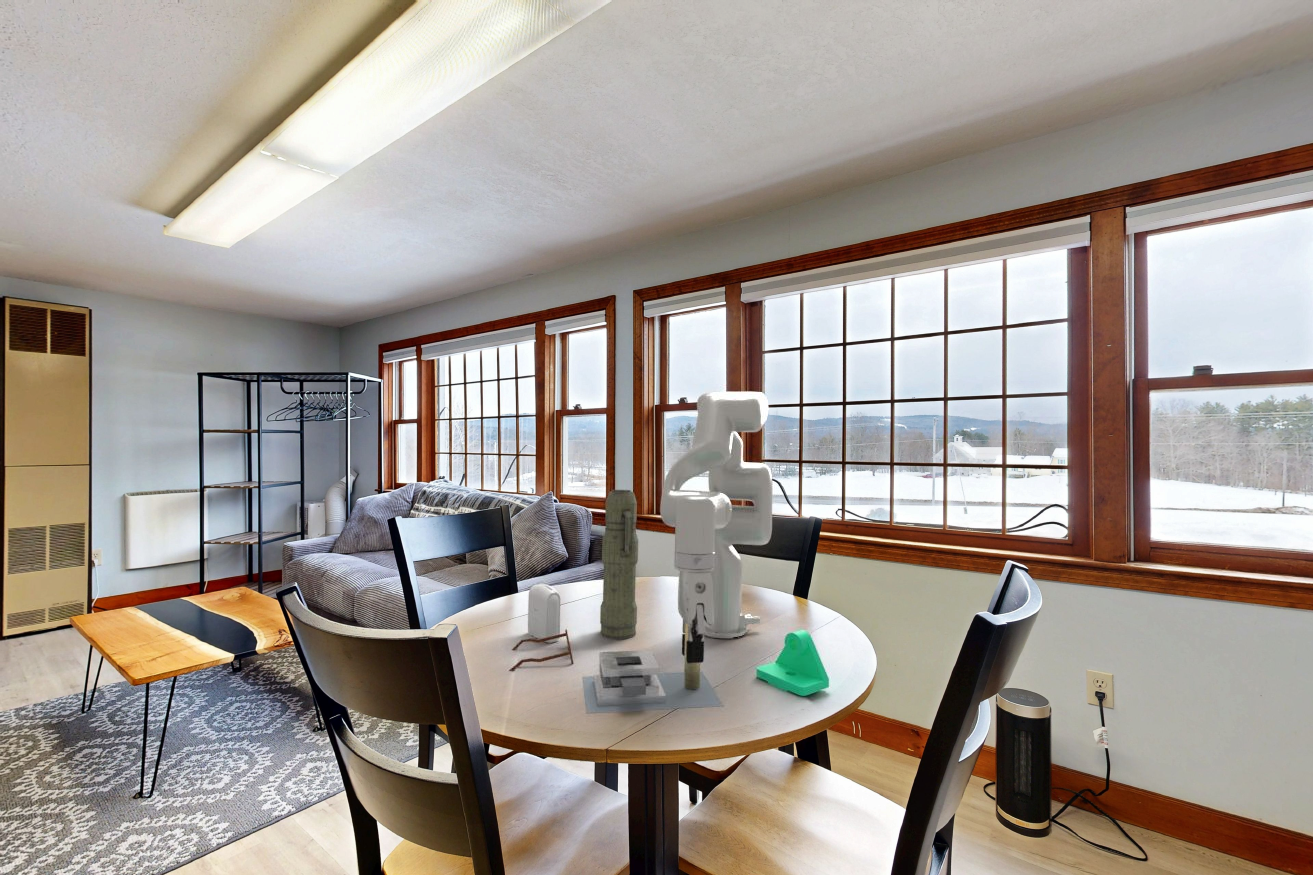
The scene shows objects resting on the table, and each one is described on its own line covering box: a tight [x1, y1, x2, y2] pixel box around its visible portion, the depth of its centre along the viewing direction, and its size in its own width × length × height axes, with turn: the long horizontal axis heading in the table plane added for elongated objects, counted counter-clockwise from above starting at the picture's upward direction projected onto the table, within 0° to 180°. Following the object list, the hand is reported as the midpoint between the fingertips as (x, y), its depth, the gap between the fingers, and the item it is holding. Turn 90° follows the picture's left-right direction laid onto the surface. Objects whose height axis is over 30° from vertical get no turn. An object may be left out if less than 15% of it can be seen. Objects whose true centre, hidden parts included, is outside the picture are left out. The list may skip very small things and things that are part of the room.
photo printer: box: [527, 583, 561, 644], centre depth 140 cm, size 10×4×12 cm, turn 39°
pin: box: [683, 621, 701, 689], centre depth 111 cm, size 4×4×15 cm
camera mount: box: [756, 629, 830, 697], centre depth 114 cm, size 12×8×10 cm, turn 37°
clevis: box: [593, 649, 666, 706], centre depth 107 cm, size 12×14×6 cm
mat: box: [582, 670, 725, 714], centre depth 109 cm, size 24×16×1 cm, turn 100°
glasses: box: [508, 629, 574, 672], centre depth 126 cm, size 13×13×5 cm
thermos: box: [599, 489, 639, 640], centre depth 144 cm, size 9×12×35 cm
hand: (692, 657), depth 111 cm, fingers closed on pin, 3 cm apart
